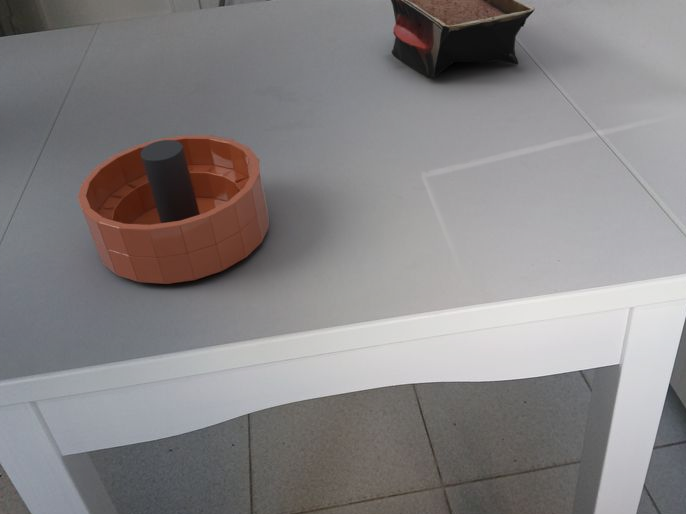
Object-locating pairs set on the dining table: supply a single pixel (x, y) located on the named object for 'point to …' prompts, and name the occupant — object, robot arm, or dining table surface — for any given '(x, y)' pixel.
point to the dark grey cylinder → (169, 180)
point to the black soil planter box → (456, 32)
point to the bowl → (185, 235)
